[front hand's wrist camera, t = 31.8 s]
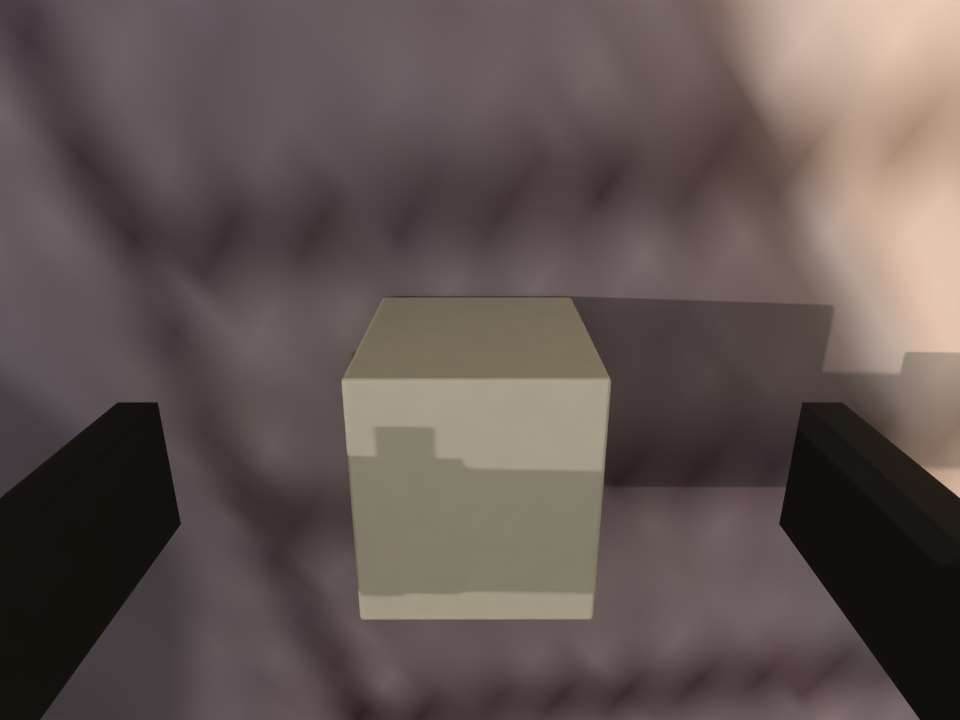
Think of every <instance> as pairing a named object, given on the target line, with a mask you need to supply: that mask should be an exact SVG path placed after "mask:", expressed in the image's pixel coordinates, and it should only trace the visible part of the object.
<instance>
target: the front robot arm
mask: <svg viewBox="0 0 960 720" xmlns="http://www.w3.org/2000/svg"><path fill="white" fill-rule="evenodd" d="M180 524H181V523H180V518H179V512H178V507H177V502H176V497H175V491H174V486H173V481H172V476H171V470H170V465H169V460H168V454H167V449H166V444H165V439H164V433H163V428H162V423H161V418H160V412H159V407H158V403H117V404H115V405H114V406H113V407H112V408H110V409H109V410H108V411H107V412H106V413H104V414H103V415H102V416H101V417H99V418H98V419H97V420H96V421H94V422H93V423H92V424H91V425H90V426H88V427H87V428H86V429H85V430H83V431H82V432H81V433H80V434H78V435H77V436H76V437H75V438H74V439H72V440H71V441H70V442H69V443H67V444H66V445H65V446H64V447H62V448H61V449H60V450H59V451H58V452H56V453H55V454H54V455H53V456H51V457H50V458H49V459H48V460H47V461H45V462H44V463H43V464H42V465H40V466H39V467H38V468H37V469H35V470H34V471H33V472H32V473H31V474H29V475H28V476H27V477H26V478H24V479H23V480H22V481H21V482H19V483H18V484H17V485H16V486H15V487H13V488H12V489H11V490H10V491H8V492H7V493H6V494H5V495H3V496H2V497H1V498H0V720H40V719H41V718H42V716H43V715H44V713H45V712H46V711H47V709H48V708H49V706H50V705H51V704H52V702H53V701H54V699H55V698H56V697H57V695H58V694H59V693H60V691H61V690H62V688H63V687H64V686H65V684H66V683H67V681H68V680H69V679H70V677H71V676H72V674H73V673H74V672H75V670H76V669H77V668H78V666H79V665H80V663H81V662H82V661H83V659H84V658H85V656H86V655H87V654H88V652H89V651H90V649H91V648H92V647H93V645H94V644H95V642H96V641H97V640H98V638H99V637H100V636H101V634H102V633H103V631H104V630H105V629H106V627H107V626H108V624H109V623H110V622H111V620H112V619H113V617H114V616H115V615H116V613H117V612H118V611H119V609H120V608H121V606H122V605H123V604H124V602H125V601H126V599H127V598H128V597H129V595H130V594H131V592H132V591H133V590H134V588H135V587H136V585H137V584H138V583H139V581H140V580H141V579H142V577H143V576H144V574H145V573H146V572H147V570H148V569H149V567H150V566H151V565H152V563H153V562H154V560H155V559H156V558H157V556H158V555H159V554H160V552H161V551H162V549H163V548H164V547H165V545H166V544H167V542H168V541H169V540H170V538H171V537H172V535H173V534H174V533H175V531H176V530H177V528H178V527H179V526H180ZM779 524H780V526H781V527H782V528H783V530H784V531H785V533H786V534H787V535H788V537H789V538H790V540H791V541H792V542H793V544H794V545H795V547H796V548H797V549H798V551H799V552H800V553H801V555H802V556H803V558H804V559H805V560H806V562H807V563H808V565H809V566H810V567H811V569H812V570H813V572H814V573H815V574H816V576H817V577H818V579H819V580H820V581H821V583H822V584H823V585H824V587H825V588H826V590H827V591H828V592H829V594H830V595H831V597H832V598H833V599H834V601H835V602H836V604H837V605H838V606H839V608H840V609H841V610H842V612H843V613H844V615H845V616H846V617H847V619H848V620H849V622H850V623H851V624H852V626H853V627H854V629H855V630H856V631H857V633H858V634H859V636H860V637H861V638H862V640H863V641H864V642H865V644H866V645H867V647H868V648H869V649H870V651H871V652H872V654H873V655H874V656H875V658H876V659H877V661H878V662H879V663H880V665H881V666H882V667H883V669H884V670H885V672H886V673H887V674H888V676H889V677H890V679H891V680H892V681H893V683H894V684H895V686H896V687H897V688H898V690H899V691H900V693H901V694H902V695H903V697H904V698H905V699H906V701H907V702H908V704H909V705H910V706H911V708H912V709H913V711H914V712H915V713H916V715H917V716H918V718H919V719H920V720H960V498H959V497H958V496H957V495H955V494H954V493H953V492H952V491H950V490H949V489H948V488H947V487H945V486H944V485H943V484H942V483H941V482H939V481H938V480H937V479H936V478H934V477H933V476H932V475H931V474H929V473H928V472H927V471H926V470H925V469H923V468H922V467H921V466H920V465H918V464H917V463H916V462H915V461H913V460H912V459H911V458H910V457H909V456H907V455H906V454H905V453H904V452H902V451H901V450H900V449H899V448H898V447H896V446H895V445H894V444H893V443H891V442H890V441H889V440H888V439H886V438H885V437H884V436H883V435H882V434H880V433H879V432H878V431H877V430H875V429H874V428H873V427H872V426H870V425H869V424H868V423H867V422H866V421H864V420H863V419H862V418H861V417H859V416H858V415H857V414H856V413H854V412H853V411H852V410H851V409H850V408H848V407H847V406H846V405H845V404H843V403H802V407H801V412H800V418H799V423H798V428H797V433H796V439H795V444H794V449H793V455H792V460H791V465H790V470H789V476H788V481H787V486H786V491H785V497H784V502H783V507H782V513H781V518H780V523H779Z"/></svg>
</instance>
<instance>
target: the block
mask: <svg viewBox="0 0 960 720" xmlns="http://www.w3.org/2000/svg"><path fill="white" fill-rule="evenodd" d="M341 383H342V396H343V408H344V421H345V433H346V446H347V458H348V470H349V483H350V495H351V508H352V520H353V533H354V545H355V558H356V570H357V582H358V595H359V607H360V616H361V619H364V620H385V619H592V618H593V615H594V602H595V589H596V576H597V563H598V550H599V537H600V524H601V511H602V498H603V485H604V471H605V458H606V445H607V432H608V419H609V406H610V393H611V379H610V377H609V375H608V373H607V371H606V369H605V367H604V365H603V363H602V361H601V359H600V357H599V355H598V352H597V350H596V348H595V346H594V344H593V342H592V340H591V338H590V336H589V334H588V332H587V330H586V328H585V326H584V324H583V322H582V320H581V317H580V315H579V313H578V311H577V309H576V307H575V305H574V303H573V301H572V299H571V298H569V297H421V298H420V297H419V298H383V299H382V301H381V303H380V305H379V307H378V309H377V311H376V313H375V315H374V317H373V319H372V321H371V323H370V325H369V327H368V329H367V331H366V333H365V335H364V337H363V339H362V341H361V343H360V345H359V347H358V349H357V351H356V353H355V355H354V357H353V359H352V361H351V363H350V365H349V367H348V369H347V371H346V373H345V375H344V377H343V379H342V382H341Z"/></svg>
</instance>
